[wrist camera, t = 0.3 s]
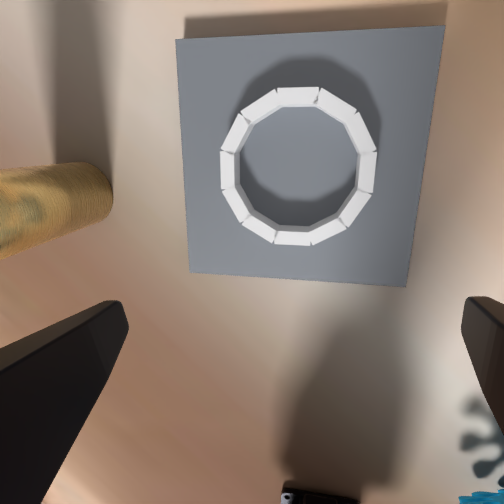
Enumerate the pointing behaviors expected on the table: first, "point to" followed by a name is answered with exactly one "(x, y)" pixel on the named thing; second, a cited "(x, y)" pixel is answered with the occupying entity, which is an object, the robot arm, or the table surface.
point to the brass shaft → (49, 203)
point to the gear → (483, 498)
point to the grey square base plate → (306, 151)
